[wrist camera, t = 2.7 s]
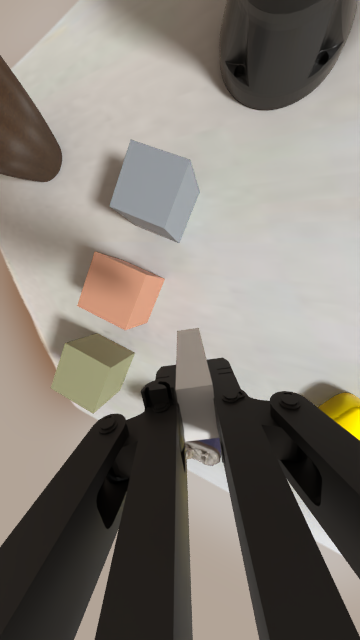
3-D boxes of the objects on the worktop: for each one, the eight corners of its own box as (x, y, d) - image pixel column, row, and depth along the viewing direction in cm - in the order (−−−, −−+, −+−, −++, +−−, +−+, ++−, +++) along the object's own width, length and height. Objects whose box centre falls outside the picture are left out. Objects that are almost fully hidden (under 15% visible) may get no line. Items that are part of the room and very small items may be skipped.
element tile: (346, 385, 31) (366, 402, 26) (425, 464, 30) (460, 496, 25) (265, 441, 35) (270, 463, 30) (332, 513, 34) (349, 548, 29)
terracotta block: (108, 303, 38) (77, 305, 30) (123, 260, 36) (94, 251, 28) (147, 322, 37) (125, 330, 29) (164, 279, 35) (146, 274, 27)
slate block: (136, 225, 35) (109, 206, 27) (153, 175, 33) (130, 139, 26) (179, 243, 34) (164, 228, 26) (199, 191, 32) (190, 159, 24)
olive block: (84, 370, 41) (50, 388, 33) (97, 333, 39) (65, 343, 31) (120, 390, 39) (93, 413, 32) (135, 352, 38) (110, 367, 30)
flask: (169, 415, 38) (147, 461, 27) (170, 399, 37) (148, 440, 27) (222, 426, 36) (219, 480, 25) (224, 410, 35) (222, 458, 25)
